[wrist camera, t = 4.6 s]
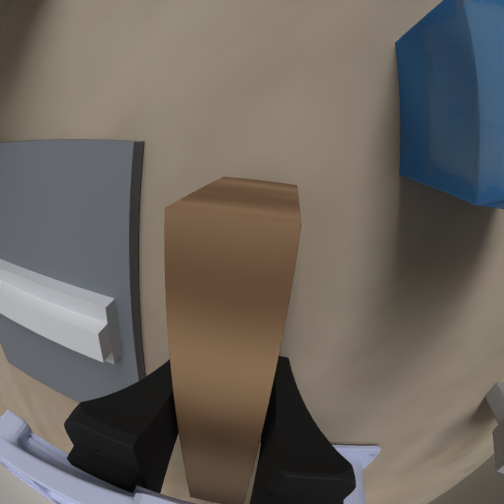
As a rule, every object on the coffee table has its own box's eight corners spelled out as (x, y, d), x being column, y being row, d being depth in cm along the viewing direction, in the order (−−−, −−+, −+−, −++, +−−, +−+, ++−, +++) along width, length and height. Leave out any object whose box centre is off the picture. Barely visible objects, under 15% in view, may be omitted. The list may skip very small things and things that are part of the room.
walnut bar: (255, 432, 18) (242, 507, 12) (212, 424, 18) (190, 496, 12) (297, 185, 12) (301, 224, 6) (223, 176, 12) (165, 207, 6)
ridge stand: (151, 421, 20) (138, 449, 17) (13, 356, 21) (-4, 373, 18) (144, 141, 12) (108, 143, 10) (-24, 144, 13) (-53, 151, 11)
